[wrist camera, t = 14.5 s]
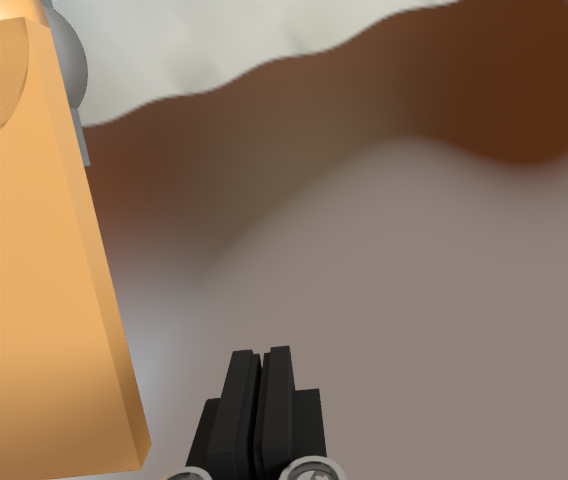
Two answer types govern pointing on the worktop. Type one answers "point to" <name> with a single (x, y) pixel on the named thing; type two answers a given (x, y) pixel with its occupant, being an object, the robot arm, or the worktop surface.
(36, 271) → the cover
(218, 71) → the worktop surface
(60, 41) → the duct
